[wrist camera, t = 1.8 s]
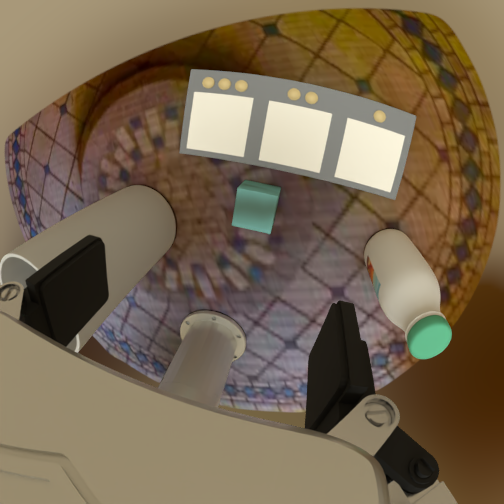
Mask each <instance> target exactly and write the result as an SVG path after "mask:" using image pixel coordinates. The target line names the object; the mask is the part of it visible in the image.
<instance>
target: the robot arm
mask: <svg viewBox="0 0 504 504" xmlns="http://www.w3.org/2000/svg"><path fill="white" fill-rule="evenodd" d="M25 282H26V285H27V287H26V288H25V289H24V287H23V285H22V284H21V283H19V282H16V281H11V282H6V283H4V284H2V285H0V504H457V502H456V500H455V499H454V497H453V496H452V494H451V493H450V491H449V490H448V488H447V487H446V485H445V484H444V482H441V483H439V481H438V480H437V478H438V474H439V468H438V464H437V461H436V460H435V458H434V457H433V456H432V455H431V454H429V453H428V452H427V451H426V450H425V449H424V448H422V447H421V446H420V445H419V444H418V443H417V442H415V441H414V440H413V439H412V438H411V437H410V436H408V435H407V434H406V433H405V432H404V431H403V430H401V429H400V428H399V427H398V426H397V425H398V422H399V416H400V415H399V411H398V408H397V407H396V405H395V404H394V403H393V402H392V401H391V400H390V399H388V398H386V397H385V396H381V395H376V394H375V388H374V381H373V375H372V369H371V364H370V358H369V353H368V348H367V344H366V342H365V341H363V340H361V338H360V333H359V327H358V322H357V317H356V312H355V307H354V304H353V303H348V302H344V301H338V302H337V304H335V303H333V304H332V305H331V307H330V310H329V312H328V315H327V317H326V319H325V321H324V324H323V326H322V328H321V331H320V333H319V335H318V337H317V339H316V342H315V344H314V346H313V348H312V350H311V353H310V355H309V360H308V383H307V402H306V419H305V428H301V427H296V426H292V425H287V424H282V423H278V422H273V421H268V420H264V419H260V418H255V417H251V416H247V415H243V414H240V413H236V412H231V411H227V410H224V409H221V408H218V405H219V402H220V399H221V396H222V393H223V390H224V386H225V383H226V380H227V377H228V374H229V370H230V367H231V364H232V362H233V361H235V360H237V359H238V358H240V357H241V356H242V354H243V353H244V350H245V347H246V337H245V334H244V332H243V330H242V328H241V327H240V326H239V325H238V324H237V323H236V322H235V321H234V320H232V319H231V318H229V317H228V316H226V315H223V314H221V313H218V312H215V311H208V310H205V311H196V312H193V313H191V314H189V315H188V316H187V317H186V318H185V319H184V320H183V322H182V324H181V327H180V336H181V339H182V342H181V344H180V346H179V348H178V350H177V352H176V354H175V356H174V358H173V360H172V362H171V363H170V365H169V367H168V369H167V371H166V373H165V375H164V377H163V379H162V381H161V383H160V385H159V387H158V388H156V387H154V386H151V385H148V384H146V383H143V382H141V381H138V380H136V379H133V378H131V377H128V376H126V375H124V374H121V373H119V372H117V371H114V370H112V369H110V368H108V367H106V366H104V365H101V364H99V363H97V362H95V361H93V360H91V359H89V358H87V357H85V356H82V355H81V354H79V353H77V352H75V351H73V350H71V349H69V348H67V345H68V344H69V343H70V342H71V341H72V340H73V339H74V337H75V336H76V335H77V334H78V333H79V332H80V331H81V329H82V328H83V327H84V326H85V325H86V324H87V323H88V322H89V321H90V319H91V318H92V317H93V316H94V315H95V314H96V313H97V312H98V311H99V310H100V309H101V307H102V306H103V305H104V304H105V303H106V302H107V300H108V298H109V290H108V280H107V268H106V254H105V244H104V242H103V241H102V239H101V238H100V237H97V236H93V235H87V236H86V237H84V238H83V239H81V240H80V241H78V242H77V243H75V244H74V245H72V246H71V247H70V248H68V249H67V250H65V251H64V252H62V253H61V254H60V255H58V256H57V257H55V258H54V259H53V260H51V261H50V262H48V263H47V264H46V265H44V266H43V267H42V268H40V269H39V270H38V271H36V272H35V273H34V274H32V275H31V276H30V277H29V278H27V279H26V280H25Z"/></svg>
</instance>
